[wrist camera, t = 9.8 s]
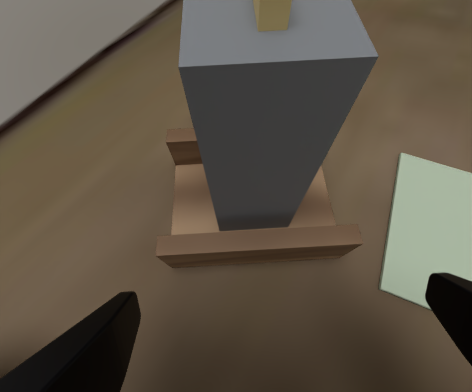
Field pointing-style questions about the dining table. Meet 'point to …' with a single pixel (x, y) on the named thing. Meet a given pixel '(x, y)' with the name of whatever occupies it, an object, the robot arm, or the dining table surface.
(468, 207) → the sage mat
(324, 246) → the walnut rack
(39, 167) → the dining table surface
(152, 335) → the dining table surface
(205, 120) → the slate block
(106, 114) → the dining table surface
